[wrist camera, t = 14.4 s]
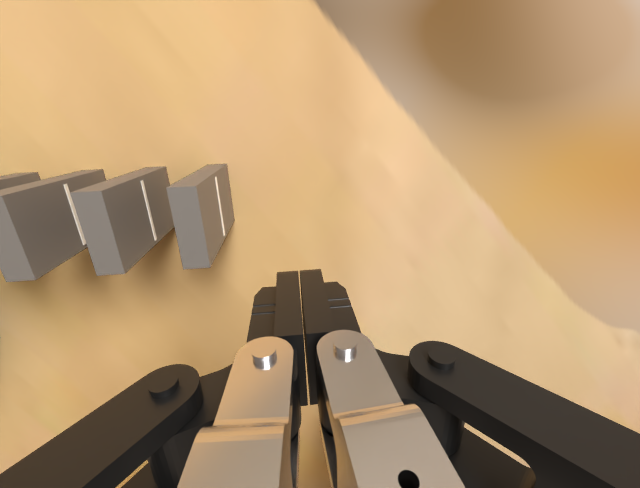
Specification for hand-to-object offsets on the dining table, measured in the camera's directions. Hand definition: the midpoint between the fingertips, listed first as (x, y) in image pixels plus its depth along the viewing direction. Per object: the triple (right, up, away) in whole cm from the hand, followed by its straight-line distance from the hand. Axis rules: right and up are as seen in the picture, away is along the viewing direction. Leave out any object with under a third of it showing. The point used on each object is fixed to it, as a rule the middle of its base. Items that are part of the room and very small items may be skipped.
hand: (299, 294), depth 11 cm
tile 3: (-18, +6, +16) cm, 24 cm away
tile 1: (-8, +6, +17) cm, 19 cm away
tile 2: (-13, +6, +16) cm, 21 cm away
